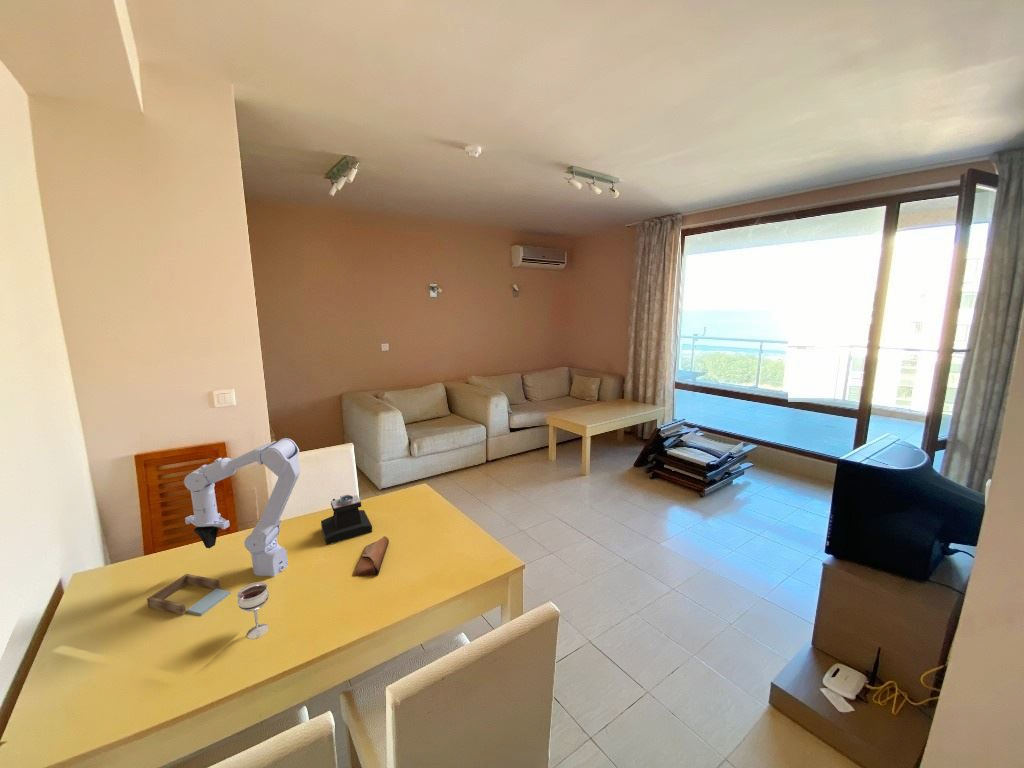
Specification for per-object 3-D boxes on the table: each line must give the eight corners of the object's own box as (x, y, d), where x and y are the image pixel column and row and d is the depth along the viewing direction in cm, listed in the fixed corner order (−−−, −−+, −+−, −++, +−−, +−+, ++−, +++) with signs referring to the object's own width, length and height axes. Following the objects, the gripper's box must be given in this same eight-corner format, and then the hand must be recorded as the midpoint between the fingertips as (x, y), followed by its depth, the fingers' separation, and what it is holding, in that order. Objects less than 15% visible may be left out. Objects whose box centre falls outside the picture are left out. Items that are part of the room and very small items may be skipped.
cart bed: (220, 591, 121) (218, 579, 120) (183, 618, 110) (181, 605, 110) (188, 585, 124) (186, 573, 123) (149, 611, 113) (146, 598, 112)
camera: (324, 512, 141) (317, 492, 153) (326, 547, 145) (319, 525, 157) (370, 500, 150) (360, 482, 162) (372, 534, 154) (362, 514, 166)
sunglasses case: (364, 544, 145) (373, 529, 144) (382, 552, 146) (391, 537, 146) (351, 577, 127) (361, 560, 127) (371, 586, 129) (381, 569, 128)
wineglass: (266, 617, 111) (262, 578, 109) (277, 629, 107) (272, 589, 105) (238, 632, 106) (232, 591, 104) (247, 646, 102) (242, 603, 99)
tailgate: (216, 590, 120) (230, 594, 119) (187, 612, 111) (202, 616, 110) (216, 588, 119) (230, 591, 118) (186, 609, 111) (201, 613, 110)
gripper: (235, 502, 127) (240, 542, 130) (198, 497, 130) (203, 536, 133) (215, 513, 121) (221, 555, 123) (175, 508, 124) (182, 548, 126)
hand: (210, 546), depth 128 cm, fingers closed
